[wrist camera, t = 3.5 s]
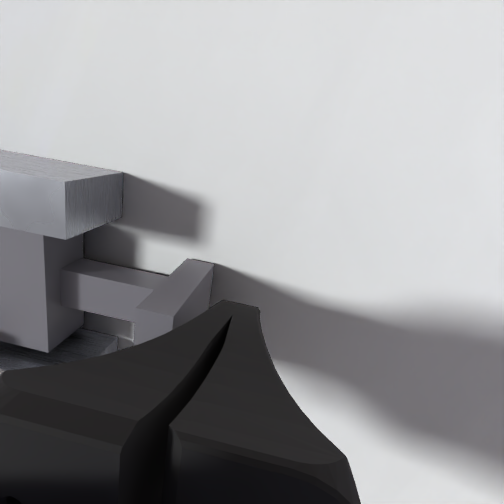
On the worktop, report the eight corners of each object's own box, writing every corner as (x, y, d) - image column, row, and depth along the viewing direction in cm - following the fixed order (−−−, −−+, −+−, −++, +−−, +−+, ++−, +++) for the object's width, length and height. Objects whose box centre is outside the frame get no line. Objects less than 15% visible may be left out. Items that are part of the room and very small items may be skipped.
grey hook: (216, 245, 12) (176, 290, 8) (198, 391, 14) (158, 479, 10) (-5, 201, 13) (-130, 225, 9) (8, 344, 15) (-90, 411, 11)
